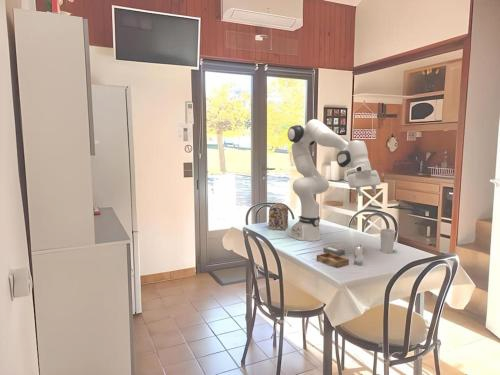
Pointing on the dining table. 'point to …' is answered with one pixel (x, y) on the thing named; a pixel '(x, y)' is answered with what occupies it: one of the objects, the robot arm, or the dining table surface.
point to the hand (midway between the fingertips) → (367, 195)
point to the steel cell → (358, 255)
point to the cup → (387, 240)
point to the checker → (334, 250)
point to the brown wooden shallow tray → (332, 260)
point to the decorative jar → (278, 217)
